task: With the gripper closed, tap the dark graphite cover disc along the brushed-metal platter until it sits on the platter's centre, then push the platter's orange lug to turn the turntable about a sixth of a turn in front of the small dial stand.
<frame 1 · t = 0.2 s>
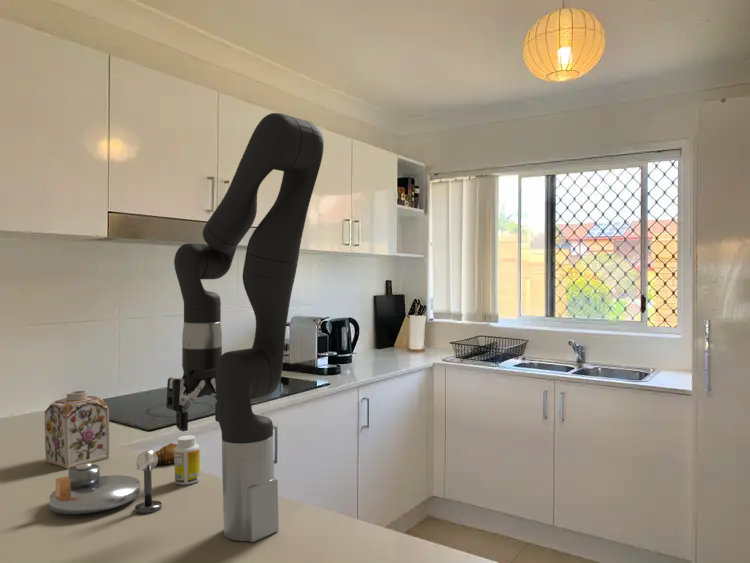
hand: (202, 425, 113), 17 cm above the countertop, tool pointing down, fingers open, 8 cm apart
turntable: (96, 483, 119), point 4 cm above the countertop, hinge at 0.0°, touching cover
cover: (84, 483, 123), point 3 cm above the countertop, touching turntable
supplement bottle: (187, 482, 131), on the countertop
dial stand: (148, 509, 115), on the countertop
croissant: (171, 463, 147), on the countertop
decorative jar: (77, 460, 150), on the countertop
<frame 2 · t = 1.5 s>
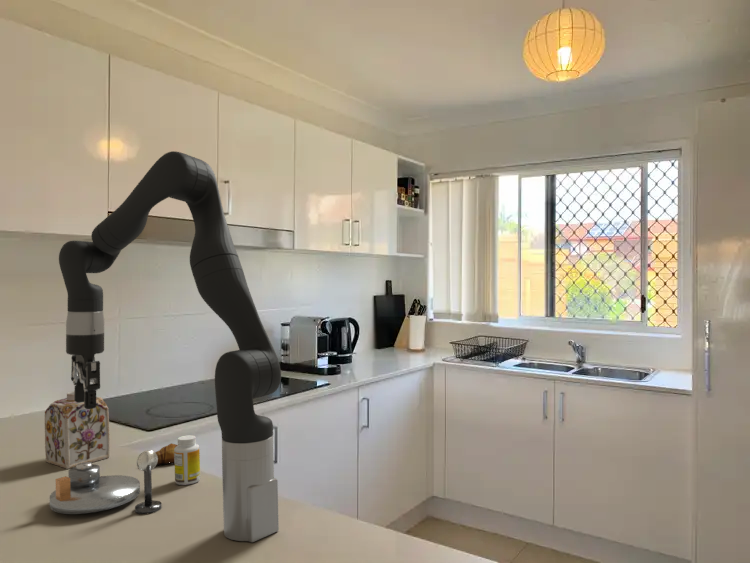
hand: (85, 404, 125), 19 cm above the countertop, tool pointing down, fingers open, 8 cm apart
nothing on the countertop moved.
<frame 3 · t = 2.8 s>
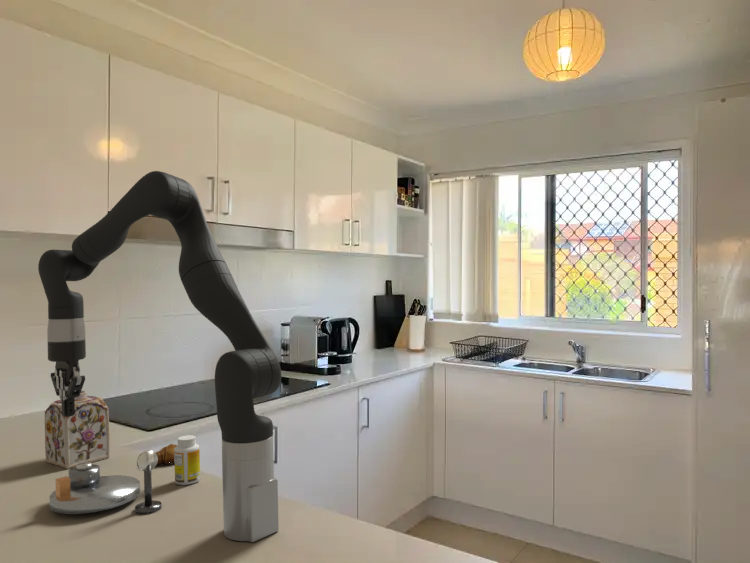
hand: (68, 415, 128), 17 cm above the countertop, tool pointing down, fingers closed
nothing on the countertop moved.
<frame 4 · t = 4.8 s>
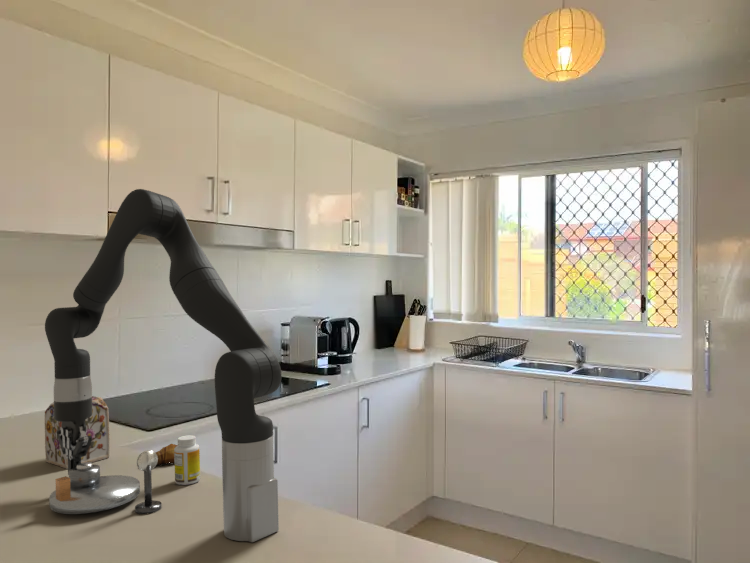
hand: (74, 475, 126), 4 cm above the countertop, tool pointing down, fingers closed
cover: (84, 483, 123), point 3 cm above the countertop, touching gripper, turntable
everything else where it was.
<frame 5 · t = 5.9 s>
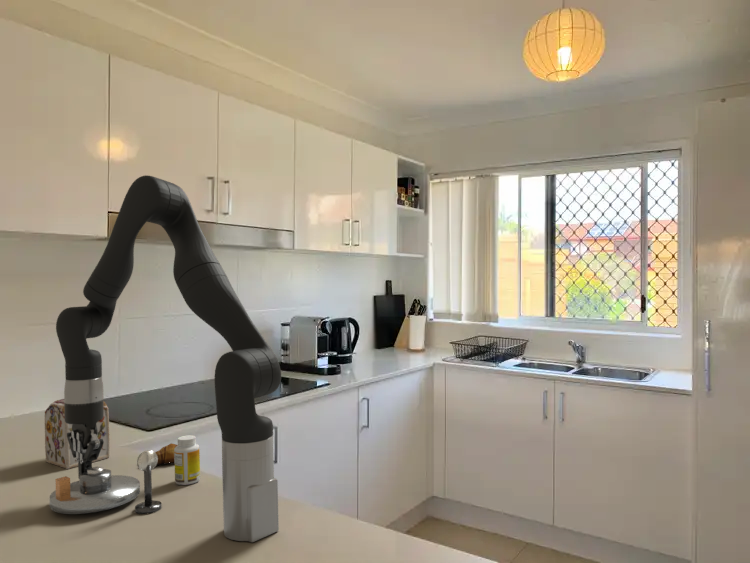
hand: (85, 479, 122), 4 cm above the countertop, tool pointing down, fingers closed
cover: (95, 489, 119), point 3 cm above the countertop, touching gripper, turntable
everything else where it was.
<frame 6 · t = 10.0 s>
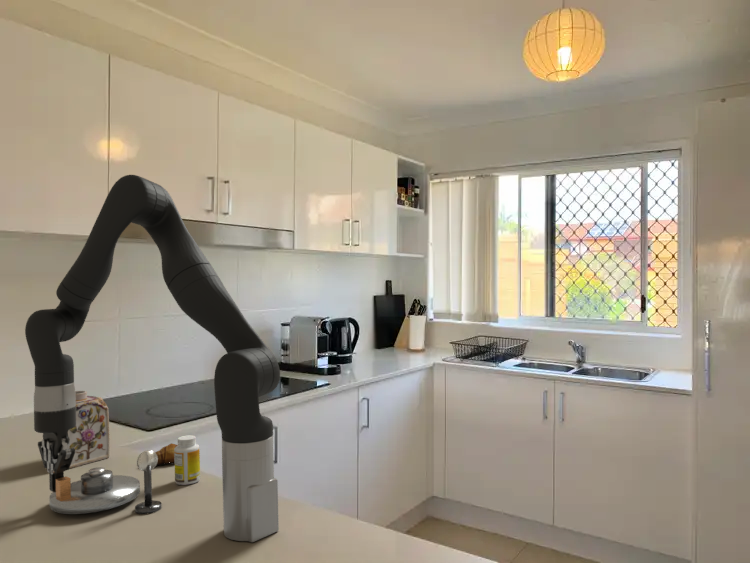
hand: (56, 490, 116), 4 cm above the countertop, tool pointing down, fingers closed
turntable: (96, 483, 119), point 4 cm above the countertop, hinge at 0.8°, touching cover
cover: (97, 489, 119), point 3 cm above the countertop, touching turntable
everything else where it was.
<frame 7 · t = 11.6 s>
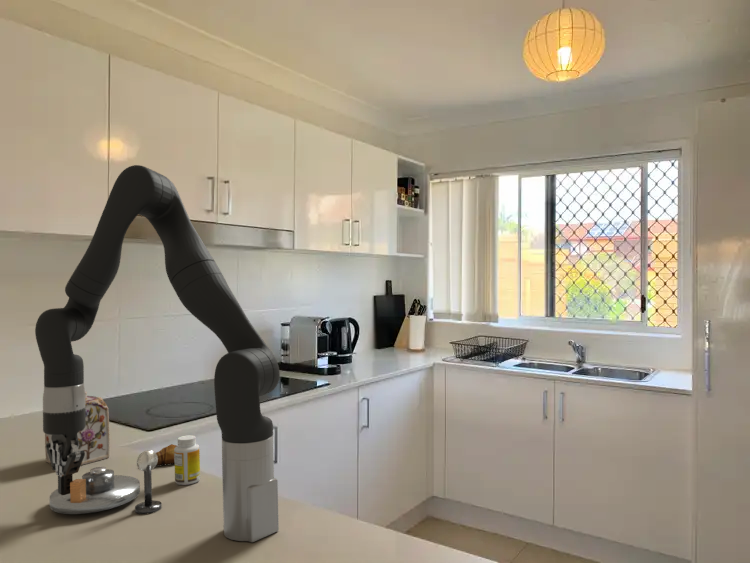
hand: (65, 493, 114), 4 cm above the countertop, tool pointing down, fingers closed
turntable: (96, 483, 119), point 4 cm above the countertop, hinge at 36.6°, touching cover, gripper
everything else where it was.
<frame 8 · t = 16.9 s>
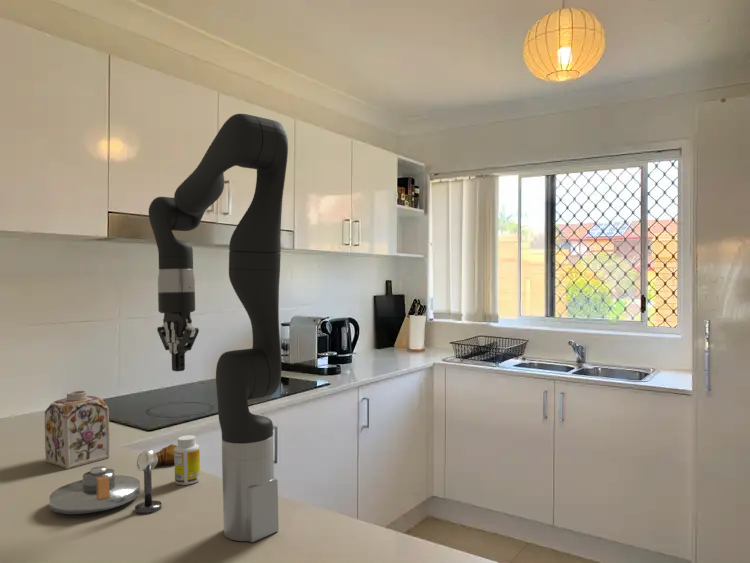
hand: (178, 370, 122), 27 cm above the countertop, tool pointing down, fingers closed
turntable: (96, 483, 119), point 4 cm above the countertop, hinge at 76.9°, touching cover
everything else where it was.
at the end: cover 0.6 cm from the turntable (horizontally); turntable at +77° (first picture: +0°); cover tilted 0° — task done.
